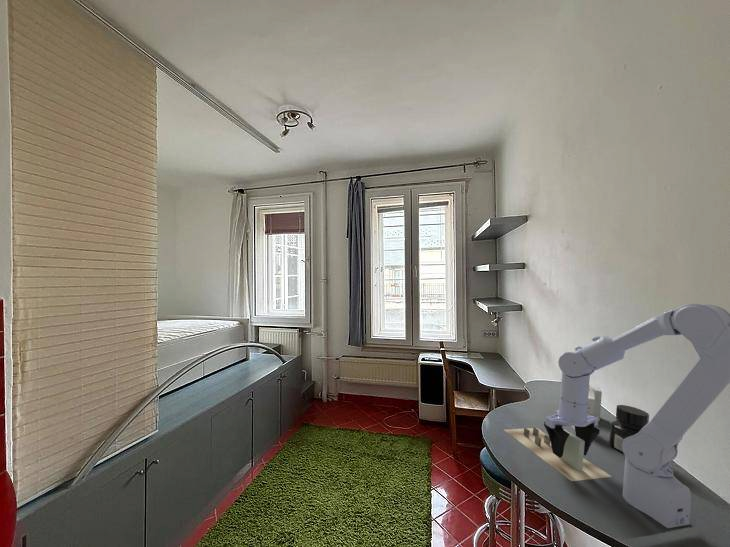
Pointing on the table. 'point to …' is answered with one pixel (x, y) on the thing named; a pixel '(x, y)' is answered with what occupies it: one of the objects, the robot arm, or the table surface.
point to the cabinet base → (556, 457)
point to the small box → (597, 402)
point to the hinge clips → (537, 439)
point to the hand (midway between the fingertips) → (569, 454)
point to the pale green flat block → (574, 451)
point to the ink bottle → (626, 425)
